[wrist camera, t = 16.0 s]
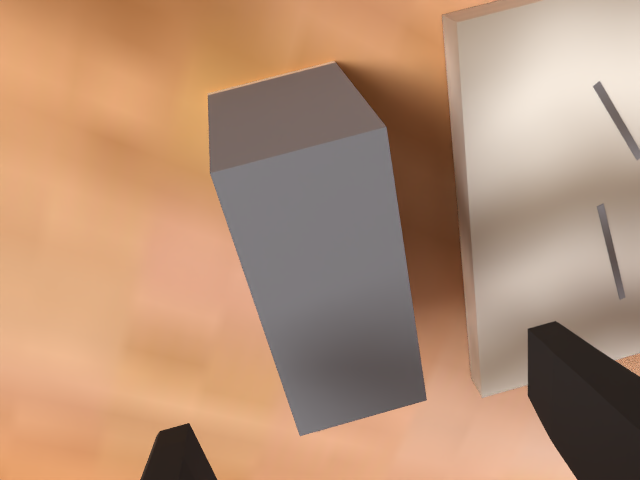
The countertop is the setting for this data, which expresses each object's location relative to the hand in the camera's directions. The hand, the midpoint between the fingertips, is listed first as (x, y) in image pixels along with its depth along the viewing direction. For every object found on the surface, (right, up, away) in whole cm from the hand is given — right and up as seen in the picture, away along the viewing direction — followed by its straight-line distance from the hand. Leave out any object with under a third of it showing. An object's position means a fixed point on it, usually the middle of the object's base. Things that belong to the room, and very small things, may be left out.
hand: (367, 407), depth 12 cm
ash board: (+11, +5, +10) cm, 16 cm away
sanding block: (-2, +5, +8) cm, 10 cm away
